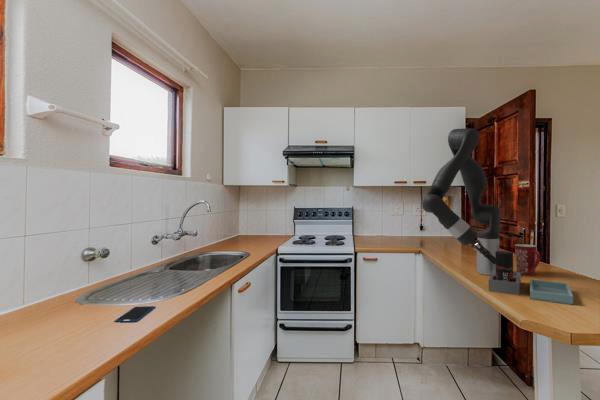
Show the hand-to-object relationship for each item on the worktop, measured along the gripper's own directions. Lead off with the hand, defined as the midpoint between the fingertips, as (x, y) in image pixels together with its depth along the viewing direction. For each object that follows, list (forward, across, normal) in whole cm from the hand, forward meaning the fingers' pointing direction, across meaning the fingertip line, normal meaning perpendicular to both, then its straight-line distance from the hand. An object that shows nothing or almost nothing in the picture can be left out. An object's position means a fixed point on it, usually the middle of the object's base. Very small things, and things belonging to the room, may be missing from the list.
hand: (494, 260), depth 130 cm
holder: (+12, +6, +4) cm, 14 cm away
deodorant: (+11, 0, +6) cm, 12 cm away
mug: (+23, +34, -6) cm, 42 cm away
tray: (+21, -2, -4) cm, 21 cm away
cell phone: (-72, -70, +89) cm, 134 cm away
